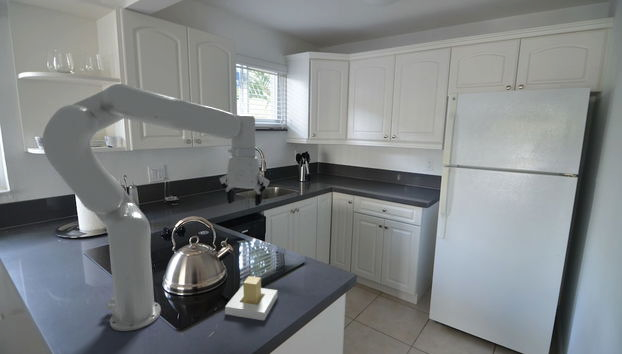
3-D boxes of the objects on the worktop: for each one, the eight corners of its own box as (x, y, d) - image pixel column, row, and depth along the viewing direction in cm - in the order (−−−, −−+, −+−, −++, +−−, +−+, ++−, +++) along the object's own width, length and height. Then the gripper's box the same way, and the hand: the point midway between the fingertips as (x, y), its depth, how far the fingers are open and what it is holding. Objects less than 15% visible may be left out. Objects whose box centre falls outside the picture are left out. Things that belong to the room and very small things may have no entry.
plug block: (243, 306, 92) (243, 282, 91) (249, 299, 96) (248, 276, 95) (256, 308, 91) (256, 284, 90) (261, 301, 95) (261, 277, 94)
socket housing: (225, 314, 89) (225, 306, 89) (242, 292, 101) (242, 285, 100) (264, 320, 87) (264, 312, 86) (277, 297, 98) (277, 290, 98)
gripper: (213, 152, 98) (215, 204, 101) (264, 155, 94) (264, 208, 98) (224, 150, 105) (226, 199, 108) (272, 153, 102) (272, 202, 105)
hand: (244, 203), depth 103 cm, fingers open, 9 cm apart
